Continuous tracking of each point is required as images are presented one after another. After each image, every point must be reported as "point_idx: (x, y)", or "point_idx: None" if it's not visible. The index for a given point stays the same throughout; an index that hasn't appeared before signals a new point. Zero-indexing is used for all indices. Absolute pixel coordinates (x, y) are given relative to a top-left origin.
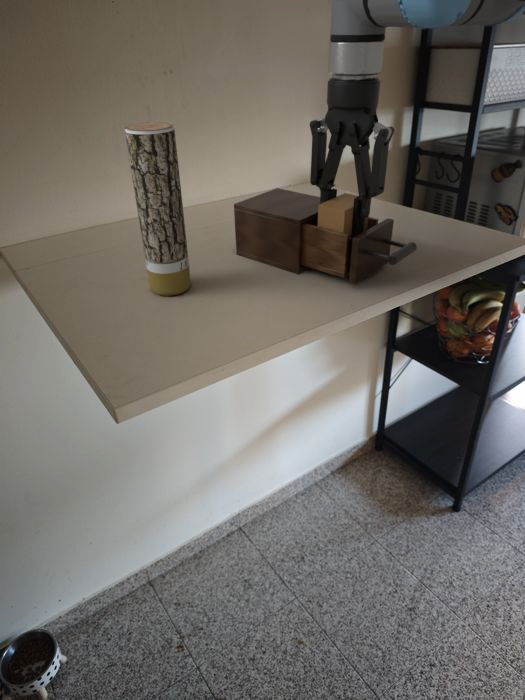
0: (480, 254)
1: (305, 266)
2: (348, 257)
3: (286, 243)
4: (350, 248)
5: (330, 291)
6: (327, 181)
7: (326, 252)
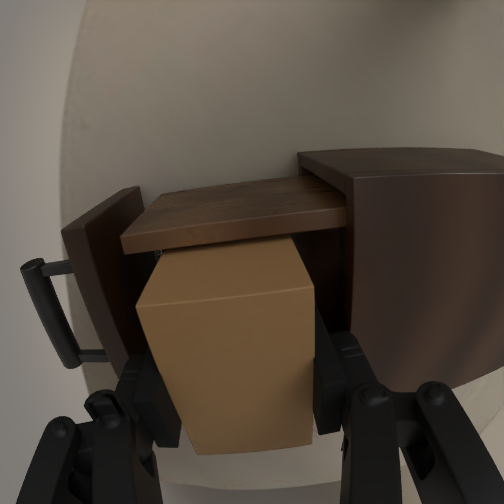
0: None
1: None
2: None
3: (369, 158)
4: None
5: (163, 137)
6: (351, 435)
7: (219, 198)
